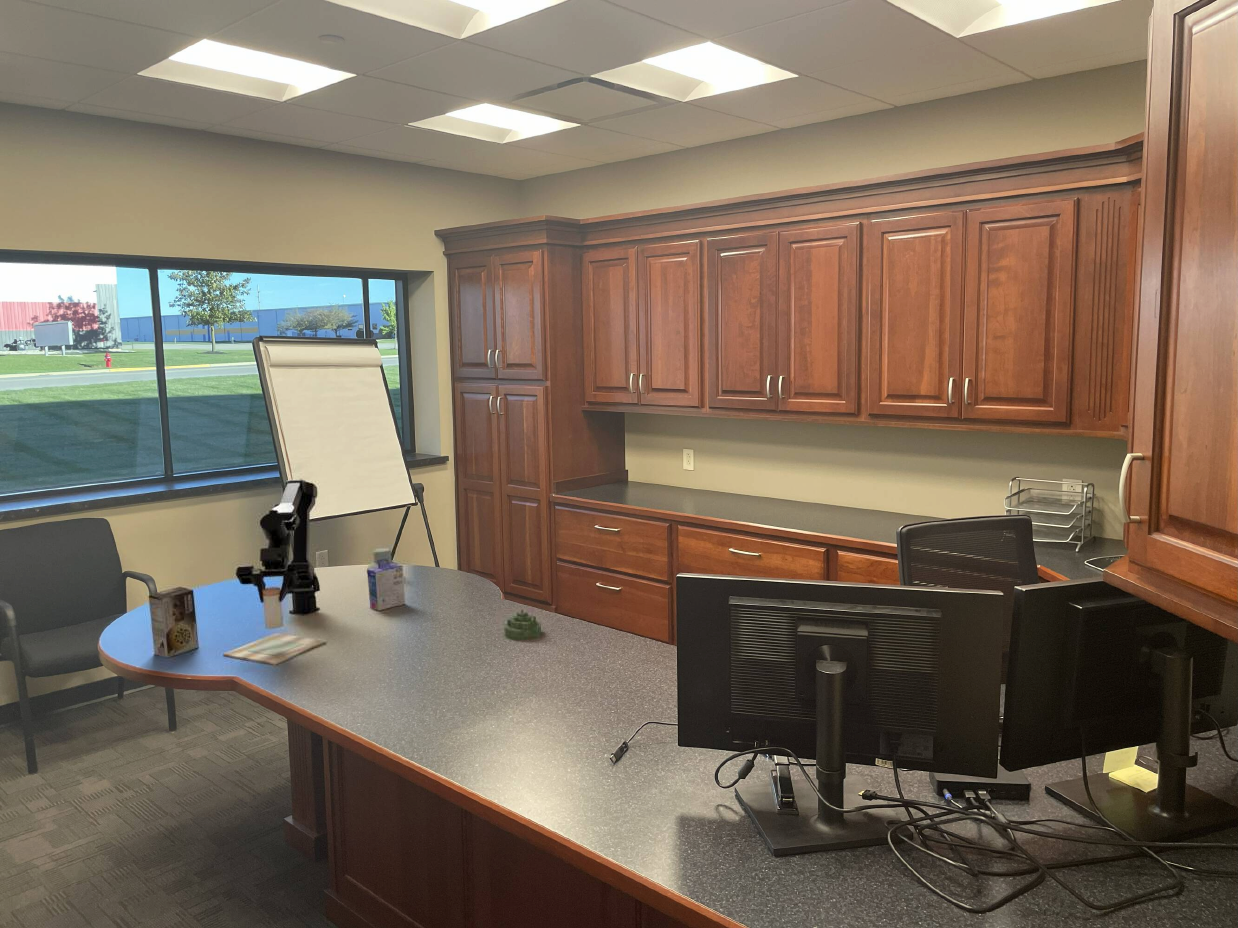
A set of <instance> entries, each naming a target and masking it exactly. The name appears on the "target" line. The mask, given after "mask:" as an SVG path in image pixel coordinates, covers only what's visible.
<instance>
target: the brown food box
mask: <svg viewBox="0 0 1238 928" xmlns="http://www.w3.org/2000/svg"><path fill="white" fill-rule="evenodd" d="M148 602H149V612H150V622H151V623H150V625H151V634H152V644H153V653H154V655H158V656H161V657H164V658H166V659H167V658H171V657H174V656H177V655H179V654H182V653H185V652H188V651H192V650H194V649H197V648H199V647H200V645H199V635H198V626H197V616H196V606H195V595H194V589H191V588H187V587H182V586H178V587H174V588H173V587H172V588H171V589H167V590H163V591H159V592H156V593H151V594H148Z"/></svg>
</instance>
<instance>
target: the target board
mask: <svg viewBox="0 0 1238 928" xmlns="http://www.w3.org/2000/svg"><path fill="white" fill-rule="evenodd" d="M326 642H327V641H326V640H321V639H317V638H309V637H302V636H296V635H290V634H283V633H278V632H277V633H276V632H275V633H272V634H270V635H267V636H265V637H262V638H260V639H258V640H256V641H252V642H250V643H247V644H244V645H243V646H240V647H237V648H234V649H233V650H229V651H226V652H224V653H223V654H222V655H223V657H229V658H234V659H238V660H239V659H240V660H246V661H250V662H256V663H262V664H267V665H272V666H276V665H278V664H281V663H282V662H285V661H287V660H290V659H293V658H294V657H297V656H298V655H302V654H304V653H306V652H308V651H310V650H313V649H316V648H317V647H320V646H322V645H325V644H326Z"/></svg>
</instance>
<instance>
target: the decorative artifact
mask: <svg viewBox="0 0 1238 928" xmlns="http://www.w3.org/2000/svg"><path fill="white" fill-rule="evenodd" d="M503 627H504V629H503V630H504V637H506V638H507V639H510V640H515V641H517V640H518V641H525V640H530V639H531V640H533V639H535V638H538V637H540V636H541V635H542V623H541V622H540V621H538V620H537V619H536V616H534V615H531V614H529V613H528V612H527V611H524V610H523V609H521V611H519V612H517V613H516V615H513V616H512V617H511V616H510V617H508V618H507V621H506V624H504V626H503Z"/></svg>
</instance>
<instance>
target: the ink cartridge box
mask: <svg viewBox="0 0 1238 928" xmlns="http://www.w3.org/2000/svg"><path fill="white" fill-rule="evenodd" d="M382 561H386V562H387V563H385V564H380V562H382ZM377 563H378V566H379V567H377V568H373V569H369V570H367V569H366V575H367V585H368V596H369V608H370V609H372V610H375V611H383V610H387V609H390V608H394V607H398V606H402V605H405V604H406V597H405V596H406V594H405V582H404V578H405V577H404V566H403V565H400V564H398V563H397V564H389V562H388V559H387V558H386V559H381V560H377Z"/></svg>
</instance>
